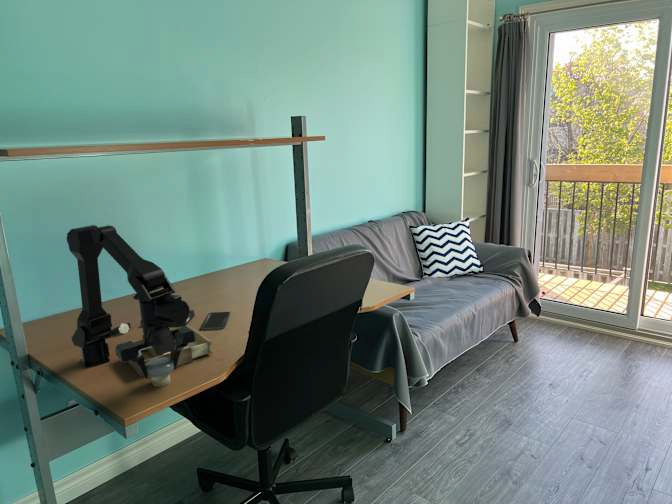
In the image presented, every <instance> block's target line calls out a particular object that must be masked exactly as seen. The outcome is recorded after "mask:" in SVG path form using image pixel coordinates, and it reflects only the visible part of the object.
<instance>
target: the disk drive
mask: <svg viewBox="0 0 672 504" xmlns="http://www.w3.org/2000/svg"><path fill="white" fill-rule="evenodd" d="M195 316H196V314H195V309H189V315H188V318H187V319H186V321H185V322H183V323H182V324H175V323H171V322H167V323H168V327H185V326H186V327H187V325H189V323H190V322H191V321H192V320H193V319H194V318H195Z"/></svg>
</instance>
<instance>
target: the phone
mask: <svg viewBox="0 0 672 504" xmlns="http://www.w3.org/2000/svg"><path fill="white" fill-rule="evenodd" d="M230 317H231V311H219V312H218V311H216V312H214V311H213V312H209V313H208V314H207V315H206V317H205V318H204V320H203V322H202V324H201V326H200V331H217V330H218V331H221V330H224V329H225V327H226V325H227V324H228V321H229V319H230Z"/></svg>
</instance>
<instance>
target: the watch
mask: <svg viewBox="0 0 672 504" xmlns="http://www.w3.org/2000/svg"><path fill="white" fill-rule="evenodd" d="M131 327H132V326H131V323H130V322H127V323H126V322H125V323H123V322H121V324H120V325H119V326H116V327H114V328H111V334H110V337H113V336H116V335H119V334H123V335H125V334H127V333H128V332H129V329H131Z"/></svg>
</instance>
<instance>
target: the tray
mask: <svg viewBox="0 0 672 504" xmlns="http://www.w3.org/2000/svg"><path fill="white" fill-rule="evenodd" d="M187 327H188V328H189V329H191V330H192V331H193V332H194V333H195V337H196V341H195V342H191V343H188V345H187V346H186V347H184V348H183V349H185V348H188V347H191V351H192V359H196V358H198V357H202V356H205V355H208V354H209V355H212V354H213V346H212V340H210V339H209V338H208V337H206V336H205V335H203V334H202V333H200V332H199V331H197V329H195V328H194V327H192V326H187ZM148 351H149V352H150V353H151V354H152V355H153V356H154V357H158V356H161V355H157V354H156V353H155V350H154V349H153V348H150V349H148ZM168 353H170V352H168ZM168 353H164V354H168ZM164 354H163V355H164Z"/></svg>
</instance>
